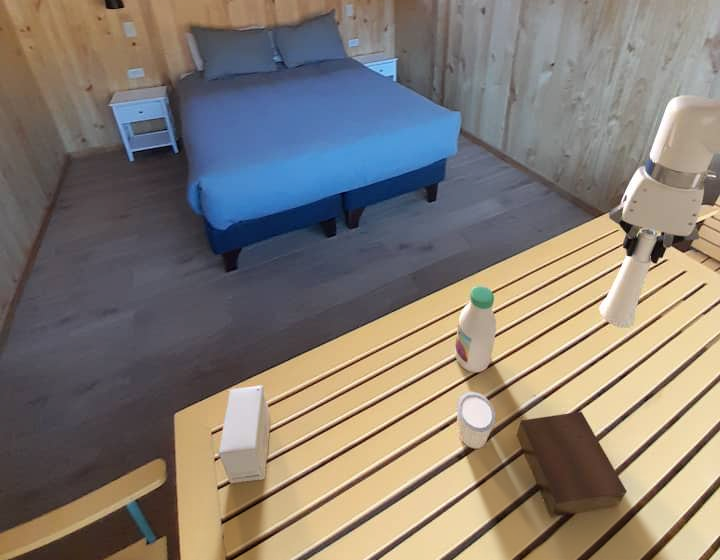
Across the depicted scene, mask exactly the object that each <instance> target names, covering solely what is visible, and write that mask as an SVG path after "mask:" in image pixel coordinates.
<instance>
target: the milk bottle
mask: <svg viewBox="0 0 720 560" xmlns="http://www.w3.org/2000/svg"><path fill="white" fill-rule="evenodd" d="M494 301H495V296H494V293H493V291H492V290H491V289H489V288H487V287H486V286H484V285H483V286H482V285H478V286H474V287H473V288H472V289H471V291H470V294H469V303H468V304H466V305H465V306H464V308H462V310H461V312H460V315H459V317H458V318H459V319H458V324H457V331H456V336H455V337H456V339H455V344H454V356H455V359H456V362H457V363H458V365H460V366H461V367H462V368H463V369H464V370H466V371H467V372H471V373H481V372H483V371H485V370H486V369H487V368H489V365H490V362H491V360H492V359H491V358H492V354H493V349H494V343H495V338H496V331H497V319H496V315H495V314H494V312H493V306H494Z"/></svg>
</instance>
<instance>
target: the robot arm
mask: <svg viewBox="0 0 720 560" xmlns="http://www.w3.org/2000/svg"><path fill="white" fill-rule="evenodd" d="M714 154H718V155H720V101H718V100H716V99H712V98H709V97H705V96H700V95H691V94H690V95H687V94H686V95H684V94H683V95H678V96H676V97H673V98H672V99H671V100H669V102H668V103H667V106H666V108H665V110H664V113H663V116H662V119H661V122H660V124H659V127H658V130H657V133H656V136H655V138H654V141H653V143H652V147H651V149H650V151H649V155H648V158H647V161H646V164H645V165H642V166H641V165H640V166H639V167H638V169H637V170H636V171H635V172H634V174H633V176H632V178H631V180H630V181H629V183H628V185H627V187H626V189H625V191H624V193H623V196H622V198H621V202H620V203H619V205H617V206H615V207H614V208H613V209H611V210H610V211H609V213H608V218H609V219H610V220H611V221H612V222H614V223H615V224H617V225H619V226H620V228H621V229H622V231H623V232H624V233H625V236H624V238H623V242H622V248H623V249H624V250H625V253H626V256H629V257H631V256H632V255H633V252H634V249H635V247H636V244H637V236H638V234H639V232H640V231H641V229H642V228H648V229H652V230H655V231H656V232H660V235H657V236H656V238H657V241H656V243H655V246H654V248H653V251H652V253H651V255H650V258H651V263H653V264H655V265H657V264H658V262H659V259H663V257H664V255H665V253H666V251H667V249H669V248H671V247H672V246H673V245H675V244H679V243H682V242H684V241H698V240H700V238H701V237H700V233H699V231H698V228H697V225H696V224H697V221H698V219H699V215H700V212H701V208H702V204H703V199H704V195H705V194H704V193H705V184H704V182H705V181H706V180H713V181H714V180H716V178H717V171H716V170H715V171H714V170H711V169H709V166H710V164H711V162H712V159H713V157H714Z"/></svg>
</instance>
